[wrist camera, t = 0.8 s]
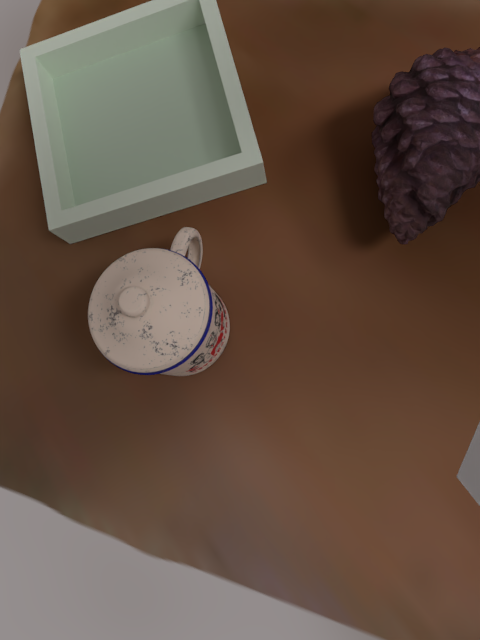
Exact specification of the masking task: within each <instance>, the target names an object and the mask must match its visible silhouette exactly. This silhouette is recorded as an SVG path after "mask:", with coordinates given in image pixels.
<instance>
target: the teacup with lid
mask: <svg viewBox="0 0 480 640" xmlns="http://www.w3.org/2000/svg"><path fill="white" fill-rule="evenodd" d="M187 249H188V257H187V258H186V257H185V255H186V252H187ZM202 252H203V247H202V239H201V236H200V234H199V232H198V231H197V230H196V229H194V228H190V227H184V228H182V229H181V230H180V231H179V232H178V233H177V235H176V236H175V238H174V240H173V243H172V246H171V248H170V250H167V249H160V248H147V249H140V250H136V251H133V252H131V253H128V254H126V255H124V256H122V257H120V258H119V259H117V260H116V261H115V262H113V263H112V264H111V265H110V266H109V267H108V268H107V269H106V270H105V271H104V272H103V273H102V275H101V276H100V277H99V279H98V281H97V282H96V284H95V286H94V288H93V291H92V294H91V297H90V301H89V307H88V323H89V328H90V332H91V335H92V338H93V340H94V342H95V344H96V346H97V347H98V349H99V350H100V352H101V353H102V354H103V356H104V357H105V358H106V359H107V360H108V361H110V362H111V363H112V364H114V365H115V366H117V367H118V368H120V369H122V370H125V371H127V372H130V373H134V374H140V375H154V374H166V375H173V376H188V375H193V374H196V373H199V372H201V371H203V370H205V369H206V368H208V367H209V366H211V365H212V364H213V363H214V362H215V361H216V360H217V359H218V358H219V356H220V355H221V354H222V352H223V350H224V348H225V346H226V344H227V341H228V337H229V331H230V321H229V316H228V312H227V309H226V307H225V304H224V303H223V301H222V300H221V298H220V297H219V296H218V295H217V293H216V292H215V291H214V290H213V289H212V288H211V287H210V286H209V284H208V282H207V280H206V278H205V277H204V275H203V273H202V272H201V271H200V266H201V261H202Z"/></svg>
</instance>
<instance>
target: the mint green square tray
mask: <svg viewBox="0 0 480 640" xmlns="http://www.w3.org/2000/svg"><path fill="white" fill-rule="evenodd" d="M20 56H21V62H22V68H23V74H24V81H25V87H26V93H27V99H28V105H29V111H30V118H31V124H32V130H33V136H34V142H35V148H36V155H37V161H38V167H39V173H40V179H41V185H42V192H43V198H44V204H45V210H46V216H47V222H48V229H49V231H50V232H52V233H53V234H55V235H57V236H58V237H60V238H61V239H63V240H64V241H66V242H68V243H69V244H72V243H76V242H79V241H82V240H85V239H88V238H92V237H95V236H98V235H101V234H104V233H108V232H111V231H114V230H117V229H120V228H124V227H127V226H130V225H133V224H136V223H140V222H143V221H146V220H149V219H152V218H156V217H159V216H162V215H165V214H168V213H172V212H175V211H178V210H181V209H184V208H188V207H191V206H194V205H197V204H200V203H204V202H207V201H210V200H213V199H216V198H220V197H223V196H226V195H229V194H232V193H236V192H239V191H242V190H245V189H248V188H252V187H255V186H258V185H261V184H264V183H267V180H266V175H265V170H264V164H263V160H262V157H261V153H260V150H259V146H258V143H257V140H256V136H255V133H254V129H253V126H252V122H251V119H250V115H249V112H248V109H247V105H246V102H245V98H244V95H243V91H242V88H241V85H240V81H239V78H238V74H237V71H236V67H235V64H234V61H233V57H232V54H231V50H230V47H229V43H228V40H227V36H226V33H225V30H224V26H223V23H222V19H221V16H220V12H219V9H218V6H217V2H216V0H152V1H149V2H147V3H144V4H141V5H138V6H136V7H133V8H130V9H128V10H125V11H122V12H120V13H117V14H114V15H111V16H109V17H106V18H103V19H101V20H98V21H95V22H93V23H90V24H87V25H85V26H82V27H79V28H76V29H74V30H71V31H68V32H66V33H63V34H60V35H58V36H55V37H52V38H50V39H47V40H44V41H41V42H39V43H36V44H33V45H31V46H28V47H25V48H23V49H20Z"/></svg>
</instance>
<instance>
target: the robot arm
mask: <svg viewBox="0 0 480 640" xmlns="http://www.w3.org/2000/svg"><path fill="white" fill-rule="evenodd" d="M457 478H458V479H459V480H460V482H461V483H462V484H463V485H464V487H465V488H466V489H467V490H468V492H469V493H470V494H471V495H472V497H473V498H474V499H475V500H476V502H477V503H478V504H479V505H480V422H479V424H478V427H477V429H476V432H475V434H474V436H473V439H472V441H471V443H470V446H469V448H468V451H467V453H466V455H465V458H464V460H463V462H462V465H461V467H460V469H459V472H458V474H457Z"/></svg>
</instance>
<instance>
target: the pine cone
mask: <svg viewBox="0 0 480 640" xmlns="http://www.w3.org/2000/svg"><path fill="white" fill-rule="evenodd" d="M389 90H390V96H387V97H384V98H383V99H382V100H381V101H379V102H377V104H376V105H375V107H374V120H373V121H374V123H375V124H376V125H377V126H376V128H375V130H374V131H373V132H372V144H373V146H374V147H375V148H376V149H375V150H374V154H375V156H376V164H375V169H374V171H375V172H376V174H377V175H378V178H377V180H376V182H377V184H378V187H379V191H378V199H379V200H380V201H382V202H383V203H384V205H385V209H384V218H385V219H387V221H388V223H389V226H390V229H389V230H390V232H391V233H393V234H395V237H396V238H397V239H398V241H399V242H400V243H401V244H407V243H408V241H410V240H414V239H415V238H416V237H417V235H418V234H419V233H423V231H425V230H426V229H427V226H433V225H434V224H436V223H437V222H438V221H442V220H443V218H444V216H445V214H446V211H447V209H448V208H449V207H450V206H451V205H453V204H455V203H457V201H458V200H459V199H460V197H461V195H462V194H463V192H464V191H465V190H466V189H469V188H473V187H475V186H476V184H477V183H478V182H479V181H480V47H479V48H478V49H477V50H473V49H471V48H470V49H467V50H465V51H462V52H461V51H457V50H455V51H454V52H453V51H452V50H451V49H449V48H443V49H439V50H437V51H436V52H435V53H434V54H433V55H428V54H426V55H423V56H420V57H418V58H417V59H416V60H415V62H414V64H413V66H412V68H411V70H410V72H398V73H396V74H395V77H394V78H393V80H392V81H391V83H390V86H389Z"/></svg>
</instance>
